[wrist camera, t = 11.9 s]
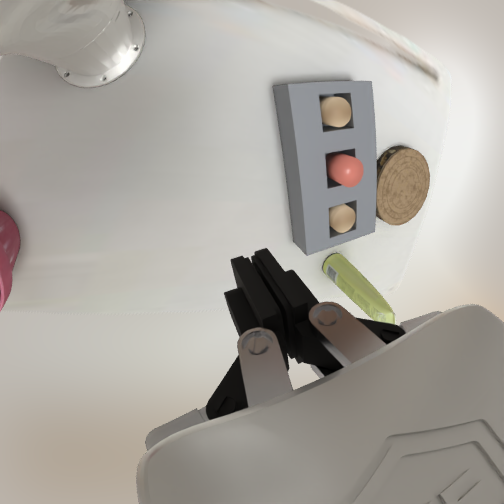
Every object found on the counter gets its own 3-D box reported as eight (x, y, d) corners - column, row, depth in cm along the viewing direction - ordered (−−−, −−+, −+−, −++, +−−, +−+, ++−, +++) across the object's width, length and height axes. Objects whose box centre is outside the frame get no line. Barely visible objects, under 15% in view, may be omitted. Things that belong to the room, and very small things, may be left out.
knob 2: (318, 201, 45) (332, 211, 42) (340, 195, 46) (355, 204, 43) (319, 224, 48) (333, 235, 44) (341, 218, 49) (355, 228, 45)
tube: (349, 255, 55) (413, 315, 39) (338, 276, 57) (396, 339, 41) (329, 250, 53) (395, 314, 36) (317, 272, 54) (376, 340, 38)
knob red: (321, 153, 39) (338, 160, 36) (345, 149, 40) (363, 155, 36) (323, 181, 42) (339, 190, 38) (346, 176, 42) (363, 184, 39)
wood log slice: (362, 224, 53) (371, 231, 50) (369, 144, 45) (380, 147, 42) (413, 214, 57) (422, 220, 54) (423, 146, 48) (433, 150, 46)
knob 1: (307, 97, 36) (323, 97, 33) (332, 95, 37) (349, 96, 34) (311, 125, 39) (327, 128, 35) (335, 122, 39) (352, 125, 36)
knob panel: (272, 85, 35) (287, 84, 31) (351, 80, 38) (371, 81, 33) (293, 241, 49) (306, 255, 45) (358, 220, 52) (374, 231, 47)
